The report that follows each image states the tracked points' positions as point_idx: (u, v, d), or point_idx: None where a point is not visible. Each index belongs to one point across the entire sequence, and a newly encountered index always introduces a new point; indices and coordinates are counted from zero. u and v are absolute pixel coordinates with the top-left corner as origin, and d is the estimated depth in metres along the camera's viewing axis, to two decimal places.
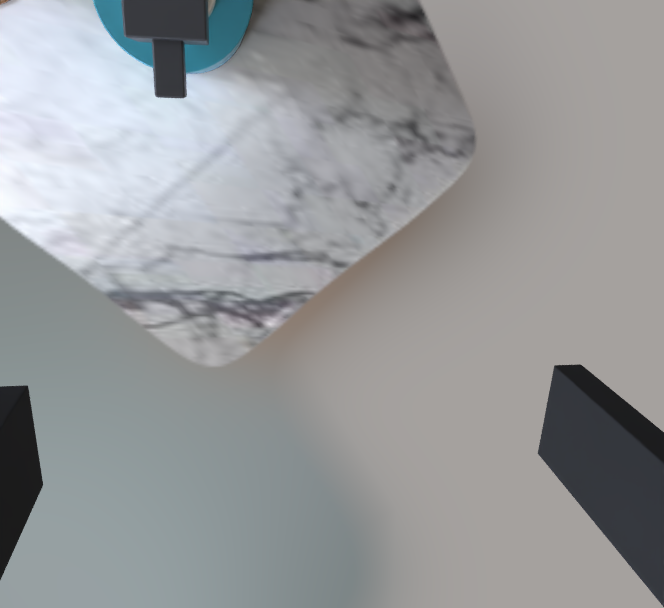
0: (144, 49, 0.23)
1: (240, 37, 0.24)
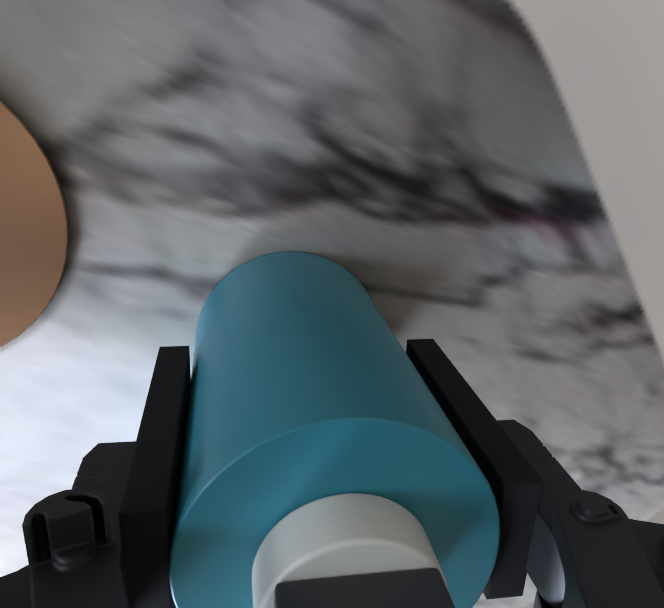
0: None
1: None
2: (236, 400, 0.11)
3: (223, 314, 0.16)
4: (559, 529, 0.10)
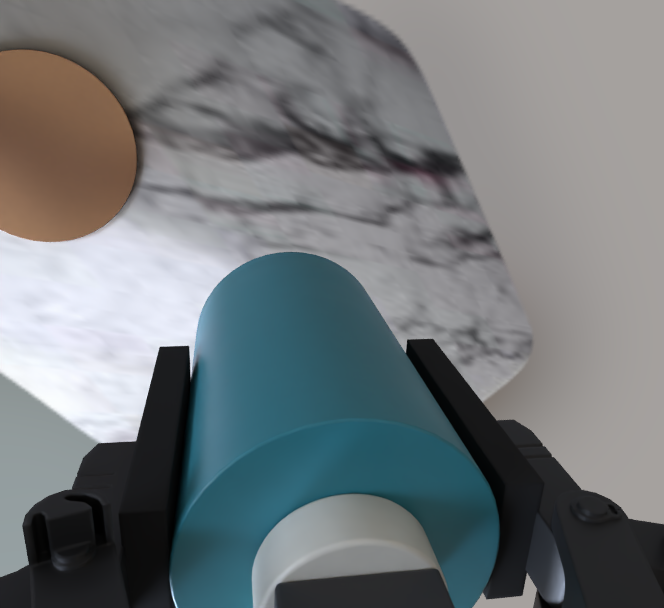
0: None
1: None
2: (236, 401, 0.11)
3: (223, 314, 0.16)
4: (559, 529, 0.10)
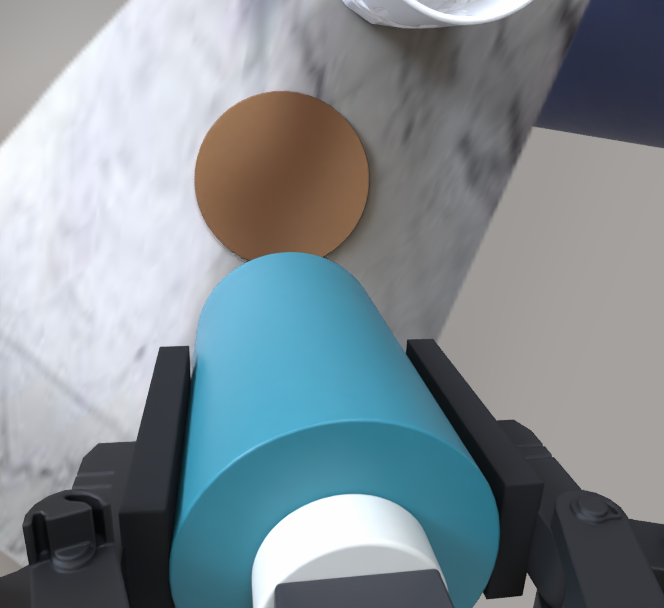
0: None
1: None
2: (236, 401, 0.11)
3: (223, 315, 0.16)
4: (559, 529, 0.10)
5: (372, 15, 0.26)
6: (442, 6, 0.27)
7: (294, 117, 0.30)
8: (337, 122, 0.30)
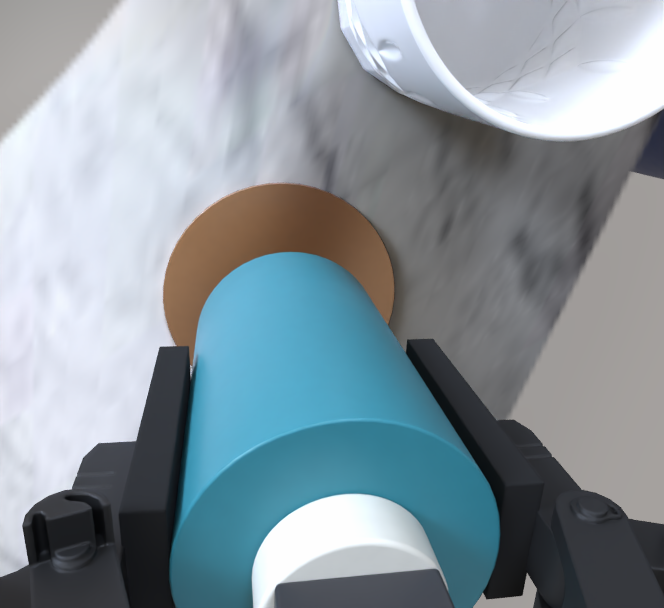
0: None
1: None
2: (236, 401, 0.11)
3: (223, 314, 0.16)
4: (559, 529, 0.10)
5: (404, 92, 0.18)
6: (502, 77, 0.19)
7: (295, 216, 0.22)
8: (353, 221, 0.23)
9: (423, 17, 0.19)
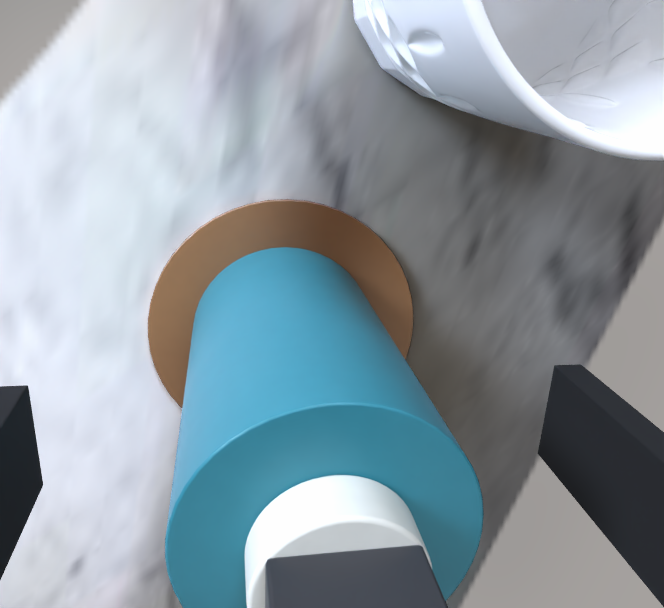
0: None
1: (448, 597, 0.12)
2: (230, 388, 0.12)
3: (218, 307, 0.16)
4: None
5: (433, 95, 0.15)
6: (547, 77, 0.16)
7: (301, 238, 0.19)
8: (367, 242, 0.20)
9: None
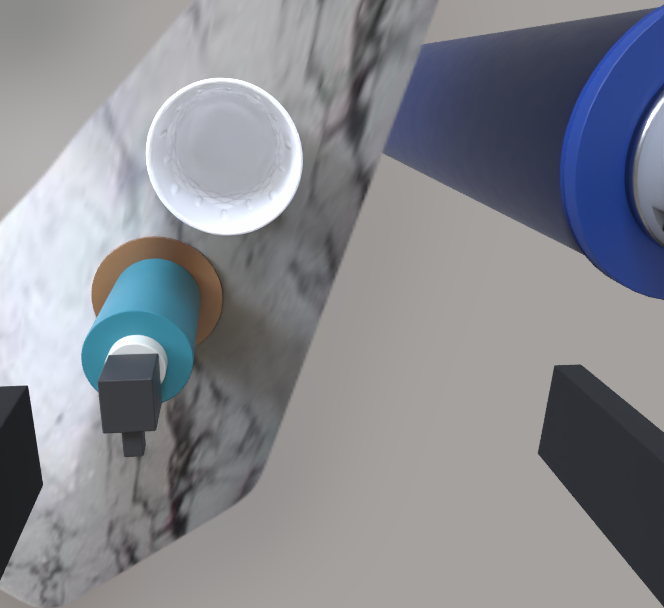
0: None
1: (184, 384, 0.34)
2: (106, 309, 0.34)
3: (116, 284, 0.39)
4: None
5: None
6: (252, 188, 0.38)
7: (162, 254, 0.42)
8: (194, 256, 0.42)
9: (214, 158, 0.38)
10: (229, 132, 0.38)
